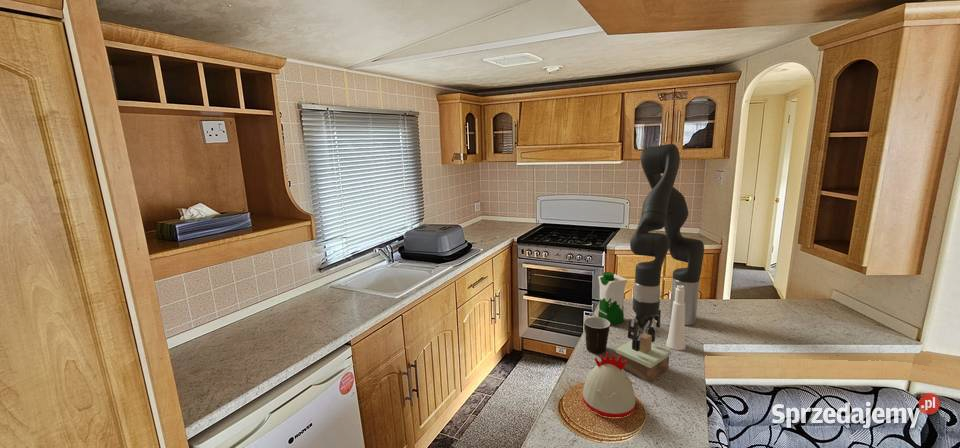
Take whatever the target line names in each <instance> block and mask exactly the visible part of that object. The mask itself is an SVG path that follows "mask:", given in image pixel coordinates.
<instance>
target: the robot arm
mask: <svg viewBox="0 0 960 448" xmlns="http://www.w3.org/2000/svg"><path fill="white" fill-rule="evenodd" d="M680 156H681V155H680V149H679V148H678V146H677V145H676V144H674V143H667V144H661V145H655V146H654V145H653V146H648V147H645V148H644V149H642V151H641V152H640V162H641V163H640V165H641V167H642V171H643V173H644V175H645V178H646V180H647V182H648V185H649V186H650V188H651V190H650V192H648V194H647V195H646V197H645V199H644V201H643V203H642V209H641V214H640V220H639V223H638V225H637V227H636V229H635V231H634V233H633V234H632V237H631V239H630V241H629V247H630V251H631V252H632V253H633V254H634V255H636V256H643V257H653V258H654V259H652V260H650V261H641V262H638V263H637V264H636V266H635V272H634V273H635V274H634V284H633V293H632V311H633V312H634V313H635V318H634V319H631V318H630V319H629V320H628V327H627V338H628V339H630V340H632V349H633V350H635V351H637V352H638V351H639V350H640V338H641V336H642V334H644V333H646V331H647V333H646V334H649V335H652V342H651V343H654V342H655V341H656V332H657V331H658V328H660V327H661V318H662V317H661V313H662V312H661V311H662V310H661V309H660V305H661V304H660V303H661V277H662V276H661V275H662V267H663V265H664V261H665V259H666V257H667V254H668V252H669V254H670V256H671V258H672V259H673V260H676V261H679V262H684V263H687V267H681V268H676V269H674V270H673V272H672V281H671V293H670V294H671V295H670V306H669V307H670V308H669V309H670V310H669V320H670V321H671V315H672V307H673V302H674V301H675V291H676V288H677V285H682V286H684V289H685V294H684V303H685V326H693V325H695V324H696V323H697V322H696V321H697V312H698V303H699V291H700V289H699V288H700V279H701V274H702V269H703V261H704V255H705V245H704V242H703V241H702V240H700V239H696V238H691V237H684V236H683V235H682V233H681V228H682V227H683V226H684V224H685V223H686V222H687V219H688V217H689V208H688V206H687V205H688V204H687V202H686V198H685V196H684V194H683V193H681V192H680V191H679V189H677V188H675V187H674V185H675V182H676V177H677V175H678V171H679V167H680V162H681V157H680ZM662 229H664V231H665V233H658V232H653V231H659V230H662ZM637 335H638V336H637Z"/></svg>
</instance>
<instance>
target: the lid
mask: <svg viewBox="0 0 960 448" xmlns="http://www.w3.org/2000/svg"><path fill="white" fill-rule="evenodd" d="M637 336H638V334H637ZM615 353H616V354H617V353H618V354H621V355H623V356H625V357H627V358H629V359H631V360H634V361H636V362H638V363H640V364H642V365H644V366H647V367H649V368H652V367H653V366H655V365H656V364H658V363H659V362H661V361H662V360H664V359H665V358H667V357H668V356H669V357H670V356H671V355H672V351H671V350H670V349H667V348H664V347H662V346H659V345H657V344H655V343H653V342H652V335H649V334H647V333H646V332H645V333H644V334H642V336H641V338H640V350H639V351H638V352H637V351H635V350H633V349H632V339H630V340H629V341H627V342H626V343H624V344H622V345H620V346H619V347H618V348H616V349H615Z"/></svg>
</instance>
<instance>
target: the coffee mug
mask: <svg viewBox="0 0 960 448" xmlns="http://www.w3.org/2000/svg"><path fill="white" fill-rule="evenodd" d="M583 327H584V336H585V337H584V338H585V346H586V347H585V348H586V350H587V352H589V353H591V354H595V355H601V354H602V355H603V354H604V353H605V352H607V347H608V346H607V344H608V338H609V333H610V327H611V325H610V322H609V321H608V320H606V319H604V318H600V317H598V316H589V317H586V318H585V319H584V320H583Z"/></svg>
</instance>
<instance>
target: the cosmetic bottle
mask: <svg viewBox="0 0 960 448" xmlns="http://www.w3.org/2000/svg"><path fill="white" fill-rule="evenodd" d="M684 294H685V289H684V286H682V285H677V288H676V291H675V301H674V302H673V307H672V315H671V320H670V324H669V330H668V336H667V338H666V339H667V340H666V342H665V345H666V346H667V347H668V348H669V349H671V350H675V351H683V350H686V348H687V346H686V337H685V336H686V334H685V326H686V325H685V303H684Z"/></svg>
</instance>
